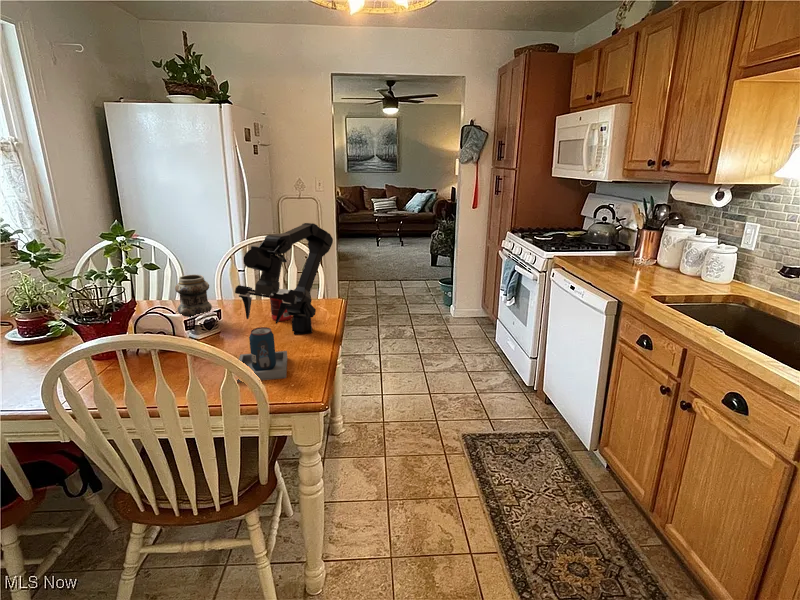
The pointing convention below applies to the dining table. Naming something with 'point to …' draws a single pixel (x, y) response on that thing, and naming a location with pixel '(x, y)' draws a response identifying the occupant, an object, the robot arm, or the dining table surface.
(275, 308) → the canned food
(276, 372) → the tray
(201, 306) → the apothecary jar
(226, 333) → the dining table surface
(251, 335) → the soda can
